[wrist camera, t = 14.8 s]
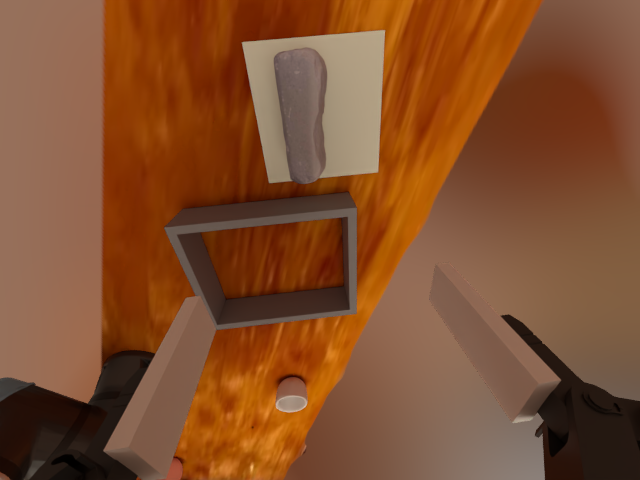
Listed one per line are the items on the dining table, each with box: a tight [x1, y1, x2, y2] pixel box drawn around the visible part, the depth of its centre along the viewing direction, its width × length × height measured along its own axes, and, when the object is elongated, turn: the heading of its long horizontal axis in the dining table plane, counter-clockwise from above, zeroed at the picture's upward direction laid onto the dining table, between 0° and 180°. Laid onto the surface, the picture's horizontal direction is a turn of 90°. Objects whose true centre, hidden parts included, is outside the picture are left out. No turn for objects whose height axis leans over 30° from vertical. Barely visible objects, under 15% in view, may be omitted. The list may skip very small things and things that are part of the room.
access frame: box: [164, 192, 357, 330], centre depth 40 cm, size 25×20×6 cm
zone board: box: [242, 30, 385, 183], centre depth 31 cm, size 16×16×1 cm
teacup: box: [276, 377, 307, 412], centre depth 61 cm, size 10×8×5 cm
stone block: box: [274, 47, 327, 184], centre depth 27 cm, size 12×5×10 cm, turn 2°
